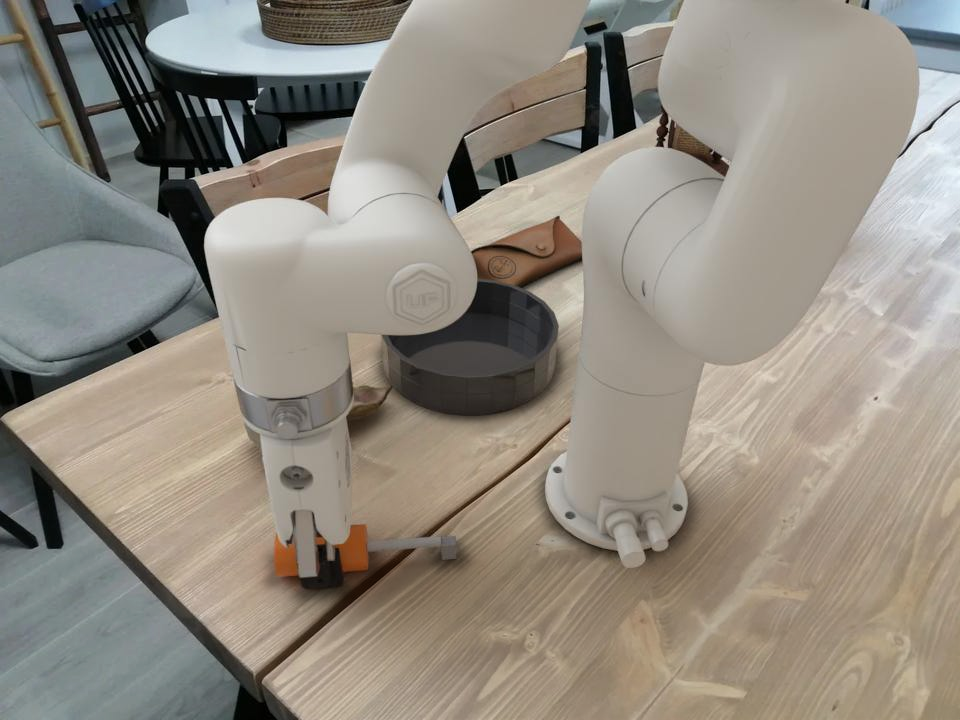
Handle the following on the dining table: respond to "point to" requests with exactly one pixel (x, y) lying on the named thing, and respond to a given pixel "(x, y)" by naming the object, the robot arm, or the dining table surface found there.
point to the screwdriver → (360, 550)
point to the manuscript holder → (688, 144)
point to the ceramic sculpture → (363, 406)
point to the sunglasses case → (528, 253)
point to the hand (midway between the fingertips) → (324, 560)
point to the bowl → (478, 354)
